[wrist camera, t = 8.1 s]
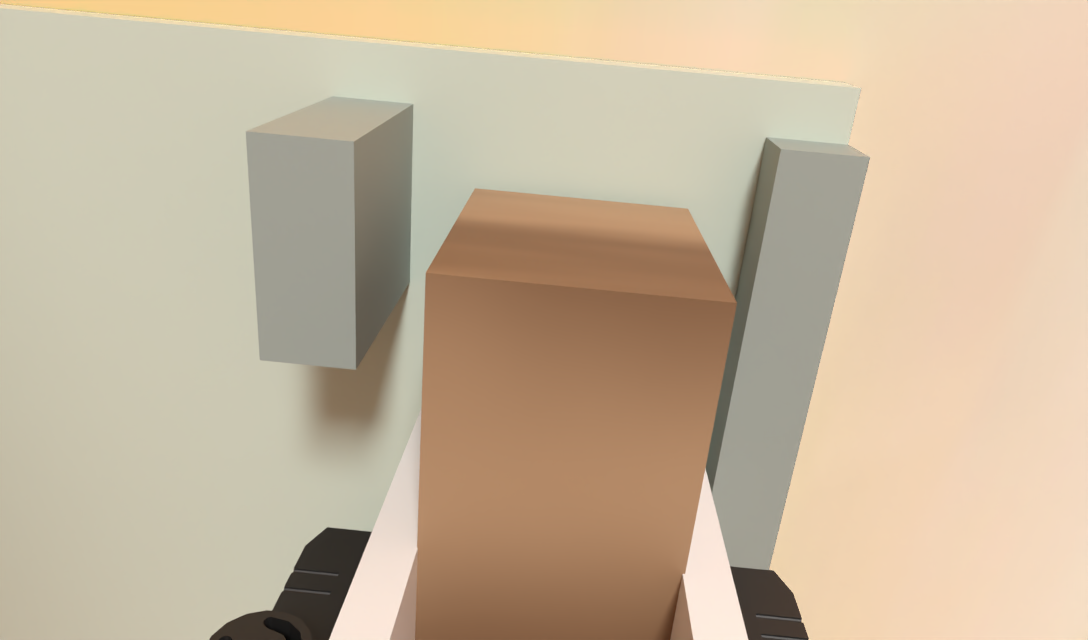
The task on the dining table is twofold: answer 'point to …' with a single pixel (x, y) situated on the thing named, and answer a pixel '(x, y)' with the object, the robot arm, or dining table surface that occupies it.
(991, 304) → the dining table surface
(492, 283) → the plank
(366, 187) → the jig
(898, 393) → the dining table surface
